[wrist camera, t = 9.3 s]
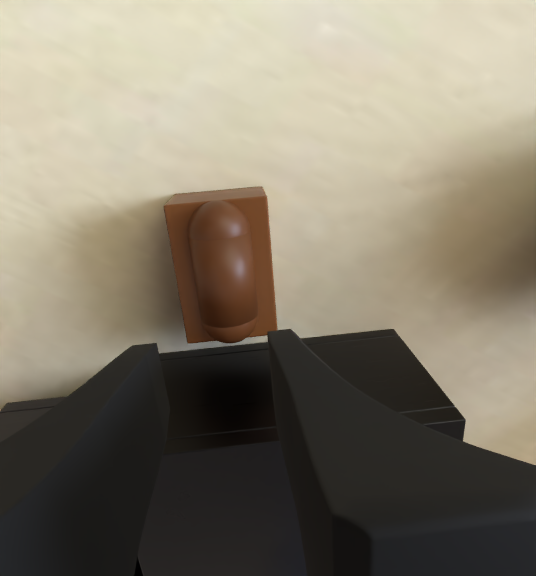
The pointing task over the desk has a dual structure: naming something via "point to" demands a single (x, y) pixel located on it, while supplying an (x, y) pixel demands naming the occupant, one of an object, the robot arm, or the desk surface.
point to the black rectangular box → (257, 452)
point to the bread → (223, 263)
